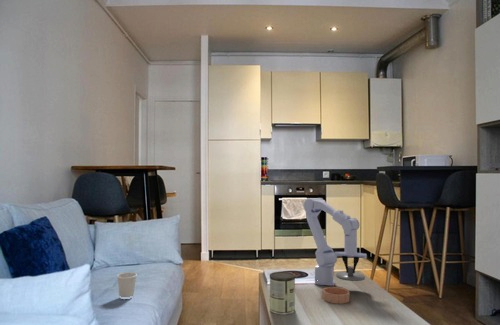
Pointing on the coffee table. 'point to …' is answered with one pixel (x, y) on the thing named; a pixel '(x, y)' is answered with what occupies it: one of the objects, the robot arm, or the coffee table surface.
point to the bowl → (335, 295)
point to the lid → (350, 275)
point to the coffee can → (282, 293)
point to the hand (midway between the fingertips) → (350, 272)
